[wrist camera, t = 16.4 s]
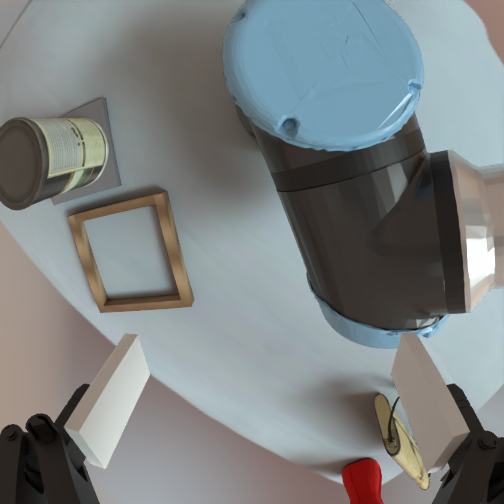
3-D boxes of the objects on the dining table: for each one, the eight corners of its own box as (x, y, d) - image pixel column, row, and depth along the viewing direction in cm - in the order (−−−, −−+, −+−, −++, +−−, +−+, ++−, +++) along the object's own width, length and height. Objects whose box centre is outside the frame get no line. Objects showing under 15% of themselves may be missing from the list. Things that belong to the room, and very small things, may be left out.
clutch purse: (433, 434, 55) (449, 480, 41) (408, 447, 56) (421, 493, 42) (399, 373, 48) (424, 435, 34) (366, 391, 49) (383, 455, 35)
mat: (42, 127, 37) (39, 127, 36) (105, 98, 35) (102, 98, 34) (57, 203, 41) (53, 205, 40) (121, 184, 40) (118, 186, 39)
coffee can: (97, 197, 39) (33, 225, 26) (49, 172, 38) (-17, 191, 25) (119, 129, 36) (53, 131, 23) (68, 109, 35) (-1, 108, 22)
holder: (75, 213, 42) (67, 216, 40) (167, 191, 39) (161, 193, 38) (105, 306, 47) (100, 312, 45) (194, 299, 45) (191, 306, 43)
